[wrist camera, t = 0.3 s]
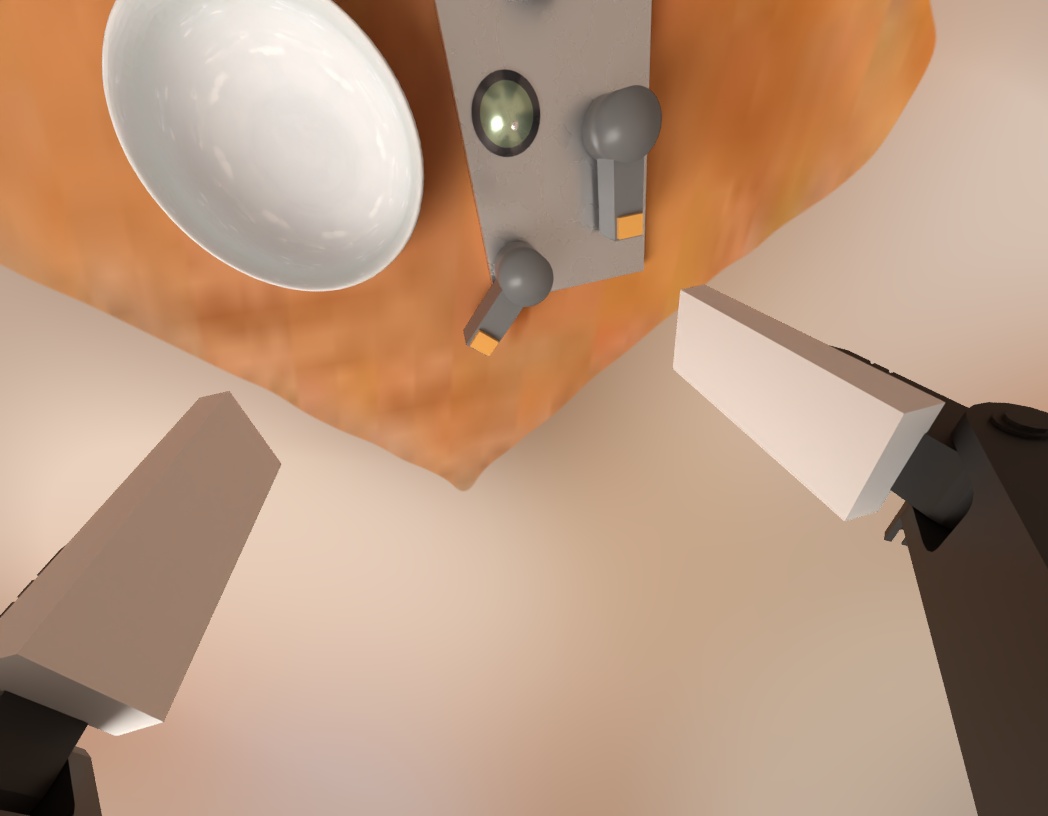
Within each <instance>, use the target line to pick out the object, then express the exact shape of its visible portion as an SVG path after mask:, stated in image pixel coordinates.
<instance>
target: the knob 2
mask: <svg viewBox="0 0 1048 816" xmlns="http://www.w3.org/2000/svg"><path fill="white" fill-rule="evenodd" d="M661 121H662V115H661V108H660V104H659V101H658V99H657V97H656V96H655V94H654V93H653V92H652V91H651V90H650V89H648V88H646V87H644V86H641V85H633V86H629V87H626V88H622V89H619V90H616V91H613V92H610V93H606V94H603V95H601V96H599V97H598V98H597V99H595V100H594V101H593V102H592V103H591V105H590V106H589V108H588V109H587V111H586V113H585V116H584V119H583V124H582V139H583V143H584V146H585V148H586V150H587V152H588V153H589V154H590V155H591V156H592V157H593V158H595V159H596V160H597V171H598V200H599V228H600V235H602V236H604V237H606V238H608V239H611V240H613V241H620V240H624V239H629V238H633V237H638V236H642V235H643V182H644V156H645V155H646V154H647V153H648V152H649V151H650V150H651V149H652V147H653V146H654V144H655V142H656V140H657V138H658V135H659V132H660V128H661Z"/></svg>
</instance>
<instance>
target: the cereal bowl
mask: <svg viewBox="0 0 1048 816" xmlns="http://www.w3.org/2000/svg"><path fill="white" fill-rule="evenodd" d="M102 77H103V85H104V91H105V97H106V102H107V106H108V109H109V113H110V117H111V120H112V123H113V126H114V129H115V132H116V134H117V137H118V139H119V142H120V144H121V146H122V148H123V151H124V153H125V155H126V157H127V159H128V161H129V162H130V164H131V166H132V167H133V169H134V171H135V173H136V174H137V176H138V178H139V179H140V181H141V182H142V184H143V185H144V186H145V188H146V189H147V191H148V192H149V193H150V195H151V196H152V197H153V198H154V200H155V201H156V202H157V204H158V205H159V206H160V207H161V208H162V209H163V211H164V212H165V213H166V214H167V215H168V216H169V217H170V219H171V220H172V221H173V222H174V223H175V224H176V225H177V226H178V227H179V228H180V229H181V230H182V231H183V232H185V233H186V234H187V235H188V236H189V237H190V238H191V239H192V240H193V241H195V242H196V243H197V244H198V245H200V246H201V247H202V248H203V249H205V250H206V251H208V252H209V253H210V254H212V255H213V256H215V257H216V258H218V259H219V260H221V261H222V262H224V263H226V264H227V265H229V266H231V267H233V268H235V269H236V270H238V271H240V272H242V273H245V274H247V275H249V276H251V277H253V278H256V279H258V280H261V281H264V282H266V283H269V284H273V285H276V286H280V287H284V288H289V289H295V290H303V291H332V290H338V289H344V288H347V287H351V286H354V285H357V284H359V283H362V282H364V281H366V280H368V279H370V278H372V277H374V276H375V275H377V274H378V273H379V272H381V271H382V270H384V269H385V268H386V267H387V266H388V265H389V264H390V263H391V262H392V261H394V260H395V258H396V257H397V256H398V255H399V253H400V252H401V251H402V250H403V249H404V247H405V245H406V243H407V242H408V241H409V239H410V238H411V235H412V232H413V231H414V228H415V226H416V224H417V220H418V217H419V213H420V211H421V203H422V197H423V188H424V166H423V162H424V160H423V156H422V148H421V141H420V138H419V132H418V129H417V126H416V122H415V119H414V116H413V113H412V111H411V109H410V106H409V102H408V100H407V98H406V96H405V94H404V91H403V90H402V88H401V86H400V83H399V81H398V79H397V78H396V76H395V74H394V72H393V70H392V69H391V68H390V66H389V65H388V63H387V61H386V59H385V58H384V57H383V55H382V54H381V52H380V51H379V49H378V48H377V47H376V46H375V44H374V43H373V41H372V40H371V39H370V37H369V36H368V35H367V34H366V33H365V32H364V31H363V30H362V29H361V27H360V26H359V25H358V24H357V23H356V21H355V20H353V19H352V18H351V17H350V16H349V15H348V14H347V13H346V12H345V11H344V10H343V9H342V8H341V7H340V6H338V5H337V4H336V3H335V2H334V1H333V0H116V1H115V3H114V5H113V7H112V10H111V12H110V15H109V18H108V21H107V25H106V29H105V34H104V40H103V49H102Z"/></svg>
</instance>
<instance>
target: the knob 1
mask: <svg viewBox="0 0 1048 816" xmlns="http://www.w3.org/2000/svg"><path fill="white" fill-rule="evenodd" d="M494 274H495V277H496V280H495V281H494V283H493V285H492V286H491V288H490V289H489V291H488V292H487V294H486V296H485V297H484V299H483V300H482V302H481V303H480V305H479V306H478V308H477V310H476V311H475V313H474V314H473V316H472V317H471V319H470V321H469V322H468V324H467V325H466V327H465V328H464V330H463V331H464V336H465V340H466V345H468V346H470V347H471V348H473V349H475V350H477V351H479V352H481V353H482V354H484V355H486V356H488V357H489V356H490V355H491V353H492V352H493V350H494V349H495V348H496V346H497V345H498V343H499V342H500V340H501V339H502V337H503V336H504V335H505V333H506V332H507V330H508V329H509V327H510V326H511V324H512V323H513V322H514V320H515V319H516V317H517V316H518V314H519V313H520V311H521V310H522V309H523V307H529V306H533V305H536V304H538V303H540V302H541V301H543V300H544V299H545V298H546V297H547V296H548V294H549V293H550V291H551V289H552V286H553V279H554V276H553V270H552V267H551V265H550V263H549V262H548V261H547V260H546V259H545V258H544V257H543V256H542V255H541V254H540V253H539V252H538V251H537V250H535V249H534V248H533V247H532V246H531V245H529V244H527V243H525V242H520V241H516V242H511V243H509V244H507V245H505V246H504V247H502V248H501V249H500V250H499V252H498V253H497V255H496V257H495V260H494Z"/></svg>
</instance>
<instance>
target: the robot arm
mask: <svg viewBox="0 0 1048 816" xmlns="http://www.w3.org/2000/svg"><path fill="white" fill-rule="evenodd" d="M673 369H674V370H675V371H676V372H677V373H678V374H679V375H681V376H682V377H683V378H684V379H685V380H686V381H687V382H688V383H690V384H691V385H692V386H693V387H694V388H695V389H696V390H697V391H699V392H700V393H701V394H702V395H703V396H704V397H705V398H706V399H708V400H709V401H710V402H711V403H712V404H713V405H714V406H716V407H717V408H718V409H719V410H720V411H721V412H722V413H723V414H725V415H726V416H727V417H728V418H729V419H730V420H731V421H732V422H733V423H735V424H736V425H737V426H738V427H739V428H740V429H741V430H742V431H744V432H745V433H746V434H747V435H748V436H749V437H750V438H751V439H753V440H754V441H755V442H756V443H757V444H758V445H759V446H760V447H762V448H763V449H764V450H765V451H766V452H767V453H768V454H769V455H771V456H772V457H773V458H774V459H775V460H776V461H777V462H779V463H780V464H781V465H782V466H783V467H784V468H785V469H786V470H787V471H789V472H790V473H791V474H792V475H793V476H794V477H796V479H798V480H799V481H800V482H801V483H802V484H803V485H805V487H806V488H808V489H809V490H810V491H811V492H812V493H813V494H814V495H816V496H817V497H818V498H819V499H820V500H821V501H822V502H823V503H824V504H826V505H827V506H828V507H829V508H830V509H831V510H832V511H833V512H835V513H836V514H837V515H838V516H839V517H840V518H841V519H842V520H844V521H848V520H851V519H854V518H858V517H861V516H864V515H868V514H871V513H875V512H878V511H879V509H880V507H881V506H882V504H883V503H884V501H885V499H886V498H887V496H888V495H889V493H890V491H893V492H894V493H896V494H897V495H898V496H900V497H901V498H902V499H904V500H905V503H904V504H903V506H902V507H901V509H900V510H899V512H898V513H897V515H896V516H895V518H894V519H893V521H892V522H891V524H890V525H889V527H888V528H887V530H886V531H885V537H884V540H887V541H892V540H893V538H894V537H895V536H896V534H897V533H898V531H899V530H900V529H903V530H904V533H905V539H904V540H903V541H902V545H906V546H908V548H909V553H910V556H911V560H912V564H913V568H914V572H915V576H916V579H917V583H918V587H919V591H920V595H921V598H922V602H923V606H924V610H925V614H926V618H927V622H928V625H929V629H930V633H931V636H932V640H933V645H934V648H935V652H936V656H937V660H938V664H939V668H940V671H941V675H942V679H943V682H944V687H945V691H946V694H947V698H948V702H949V706H950V710H951V713H952V717H953V721H954V725H955V729H956V733H957V737H958V741H959V744H960V748H961V752H962V756H963V759H964V764H965V767H966V771H967V775H968V779H969V783H970V787H971V790H972V794H973V798H974V801H975V806H976V809H977V813H978V816H1048V413H1047V412H1044V411H1040V410H1037V409H1034V408H1031V407H1026V406H1021V405H1015V404H1009V403H991V402H988V403H981V404H977V405H973V406H972V407H970V408H968V407H965V406H963V405H961V404H959V403H957V402H955V401H953V400H951V399H949V398H946V397H944V396H942V395H940V394H938V393H936V392H934V391H932V390H930V389H928V388H926V387H923V386H921V385H919V384H917V383H915V382H913V381H911V380H909V379H907V378H905V377H902V376H901V375H898V374H896V373H894V372H893V373H889V370H888V369H886V368H884V367H881V366H880V365H877V364H875V363H874V364H871V363H870V361H869V360H867V359H865V358H863V357H861V356H859V355H857V354H854V353H852V352H850V351H848V350H844V349H841V348H837V347H833V346H829V345H827V344H825V343H823V342H821V341H819V340H817V339H815V338H812V337H811V336H808V335H806V334H804V333H802V332H800V331H798V330H796V329H794V328H792V327H790V326H788V325H786V324H784V323H782V322H780V321H778V320H776V319H774V318H772V317H770V316H767V315H765V314H763V313H761V312H759V311H757V310H755V309H753V308H751V307H749V306H747V305H745V304H743V303H741V302H739V301H737V300H735V299H733V298H731V297H729V296H727V295H724V294H722V293H720V292H718V291H716V290H714V289H712V288H710V287H708V286H706V285H700V286H695V287H691V288H686V289H682V290H681V291H680V301H679V312H678V321H677V331H676V341H675V352H674V361H673ZM280 466H281V463H280V461H279V460H278V459H277V457H276V456H275V454H274V453H273V451H272V450H271V449H270V447H269V446H268V445H267V443H266V442H265V440H264V439H263V437H262V436H261V435H260V433H259V432H258V431H257V429H256V428H255V426H254V425H253V424H252V422H251V421H250V419H249V418H248V417H247V415H246V414H245V412H244V411H243V410H242V408H241V407H240V405H239V404H238V403H237V401H236V400H235V399H234V397H233V396H232V394H231V393H230V391H228V392H223V393H219V394H214V395H210V396H206V397H201V398H199V399H198V400H197V401H196V402H195V404H194V405H193V406H192V407H191V408H190V409H189V410H188V411H187V412H186V414H185V415H184V416H183V417H182V418H181V419H180V420H179V421H178V422H177V424H176V425H175V426H174V427H173V428H172V429H171V430H170V431H169V432H168V433H167V434H166V436H165V437H164V438H163V439H162V440H161V441H160V442H159V443H158V444H157V446H156V447H155V448H154V449H153V450H152V451H151V452H150V453H149V454H148V455H147V457H146V458H145V459H144V460H143V461H142V462H141V463H140V464H139V466H138V467H137V468H136V469H135V470H134V471H133V472H132V473H131V474H130V475H129V476H128V478H127V479H126V480H125V481H124V482H123V483H122V484H121V485H120V486H119V488H118V489H117V490H116V491H115V492H114V493H113V494H112V495H111V496H110V497H109V499H108V500H107V501H106V502H105V503H104V504H103V505H102V506H101V507H100V508H99V510H98V511H97V512H96V513H95V514H94V515H93V516H92V517H91V519H90V520H89V521H88V522H87V523H86V524H85V525H84V526H83V527H82V528H81V529H80V531H79V532H78V533H77V534H76V535H75V536H74V537H73V538H72V539H71V541H70V542H69V543H68V544H67V545H66V546H64V547H63V548H62V549H60V550H59V551H58V553H57V554H56V555H55V556H54V557H53V558H52V559H51V560H50V561H49V562H48V564H47V565H46V566H45V567H44V568H43V569H42V570H41V571H40V572H39V573H38V574H37V575H38V577H37V578H36V579H35V580H32V581H31V582H30V583H29V585H27V587H26V588H25V589H24V590H23V591H22V592H21V593H20V594H19V595H18V599H17V600H16V601H15V602H12V603H11V604H10V605H9V606H8V608H7V609H6V610H5V611H4V612H3V613H2V614H1V615H0V816H102V814H101V809H100V803H99V798H98V793H97V787H96V783H95V777H94V772H93V767H92V761H91V757H90V756H89V754H88V753H87V752H86V750H84V749H82V748H79V747H76V746H75V745H76V744H77V742H78V740H79V738H80V737H81V735H82V734H83V732H84V730H85V728H86V727H87V725H90V726H92V727H95V728H97V729H100V730H102V731H105V732H107V733H110V734H113V735H115V736H118V735H121V734H125V733H128V732H131V731H135V730H138V729H142V728H145V727H149V726H152V725H155V724H159V723H162V722H164V720H165V718H166V716H167V714H168V711H169V709H170V707H171V705H172V702H173V700H174V698H175V696H176V694H177V692H178V689H179V687H180V685H181V683H182V681H183V679H184V676H185V674H186V672H187V670H188V668H189V665H190V663H191V661H192V659H193V656H194V654H195V652H196V650H197V648H198V646H199V644H200V641H201V639H202V637H203V635H204V632H205V630H206V628H207V626H208V624H209V622H210V619H211V617H212V615H213V613H214V610H215V608H216V606H217V604H218V602H219V600H220V598H221V595H222V593H223V591H224V588H225V586H226V584H227V582H228V580H229V578H230V575H231V573H232V571H233V569H234V567H235V565H236V562H237V560H238V558H239V556H240V554H241V551H242V549H243V547H244V545H245V543H246V541H247V538H248V536H249V534H250V532H251V530H252V527H253V525H254V523H255V520H256V519H257V516H258V514H259V512H260V510H261V508H262V506H263V503H264V501H265V499H266V497H267V495H268V492H269V490H270V488H271V486H272V484H273V481H274V479H275V477H276V475H277V472H278V470H279V468H280Z"/></svg>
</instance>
